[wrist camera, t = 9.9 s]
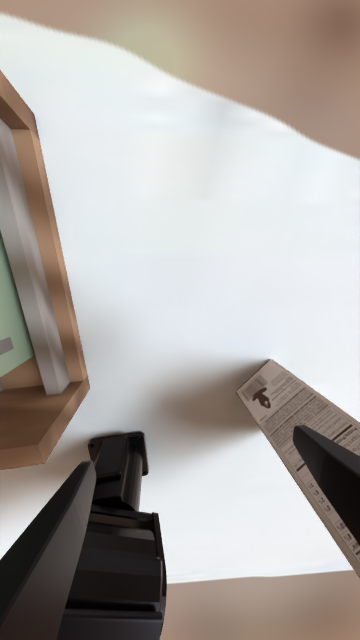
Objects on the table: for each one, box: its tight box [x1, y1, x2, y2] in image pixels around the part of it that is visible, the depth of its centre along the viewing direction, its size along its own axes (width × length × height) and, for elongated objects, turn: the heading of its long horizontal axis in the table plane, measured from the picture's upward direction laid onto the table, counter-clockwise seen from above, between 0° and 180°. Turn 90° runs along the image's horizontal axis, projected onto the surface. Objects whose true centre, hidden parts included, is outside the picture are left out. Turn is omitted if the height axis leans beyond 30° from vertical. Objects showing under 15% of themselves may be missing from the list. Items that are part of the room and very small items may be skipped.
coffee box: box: [236, 359, 360, 578], centre depth 15 cm, size 9×6×16 cm
